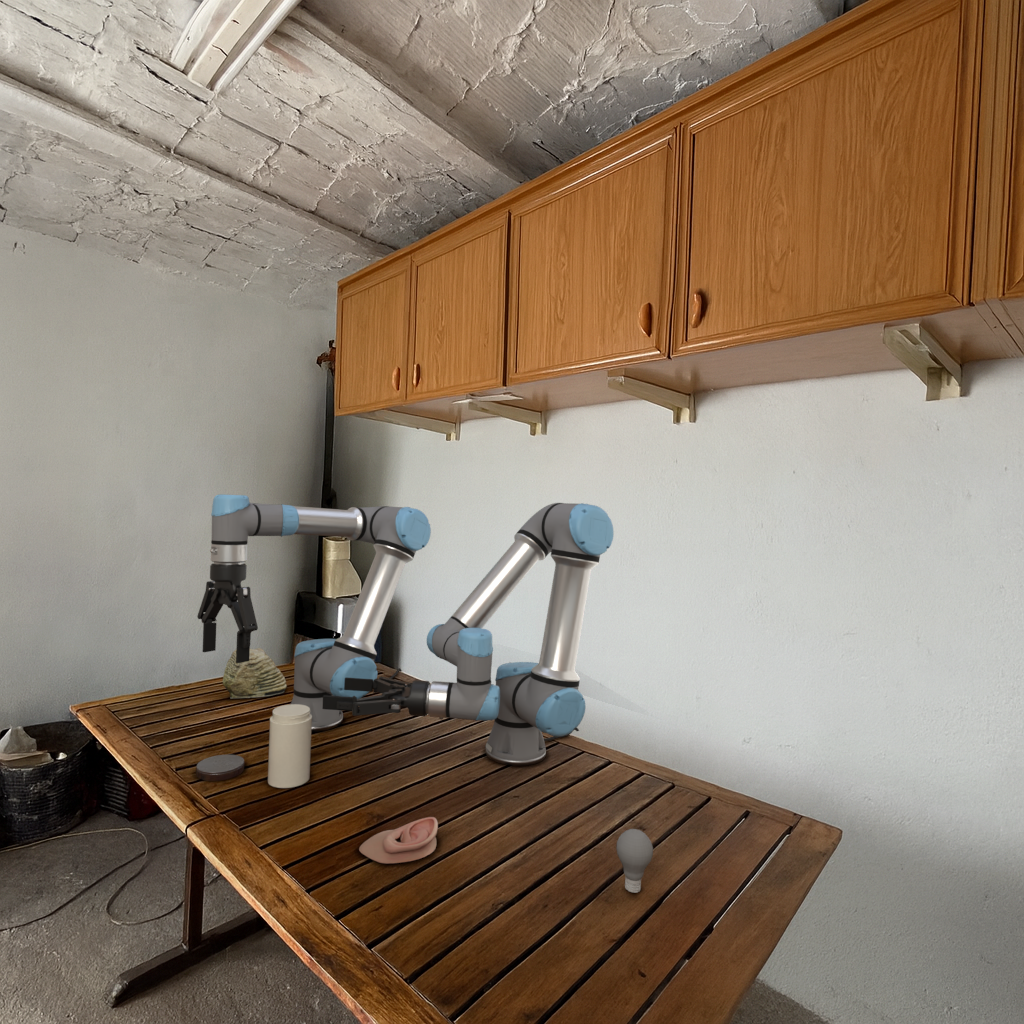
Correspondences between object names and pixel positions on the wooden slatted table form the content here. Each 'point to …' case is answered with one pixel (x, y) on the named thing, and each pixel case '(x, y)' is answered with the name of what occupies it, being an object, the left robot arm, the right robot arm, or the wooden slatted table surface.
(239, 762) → the lid
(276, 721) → the jar
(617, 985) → the wooden slatted table surface
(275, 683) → the fossil
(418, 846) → the anatomical model
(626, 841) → the light bulb
